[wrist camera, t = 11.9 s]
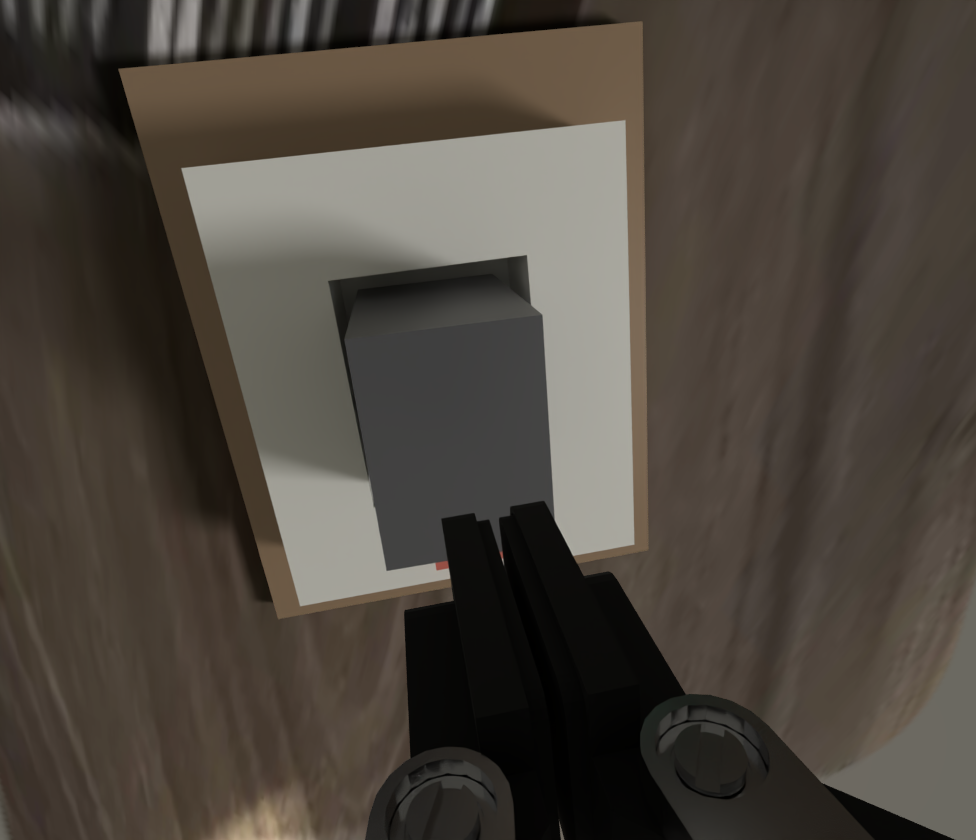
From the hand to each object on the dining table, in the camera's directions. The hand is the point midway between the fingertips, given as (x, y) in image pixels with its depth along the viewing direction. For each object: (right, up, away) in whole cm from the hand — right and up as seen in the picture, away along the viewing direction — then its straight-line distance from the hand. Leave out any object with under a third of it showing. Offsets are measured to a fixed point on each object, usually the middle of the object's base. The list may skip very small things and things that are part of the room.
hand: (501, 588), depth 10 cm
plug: (-2, +5, +12) cm, 13 cm away
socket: (-2, +5, +13) cm, 15 cm away
